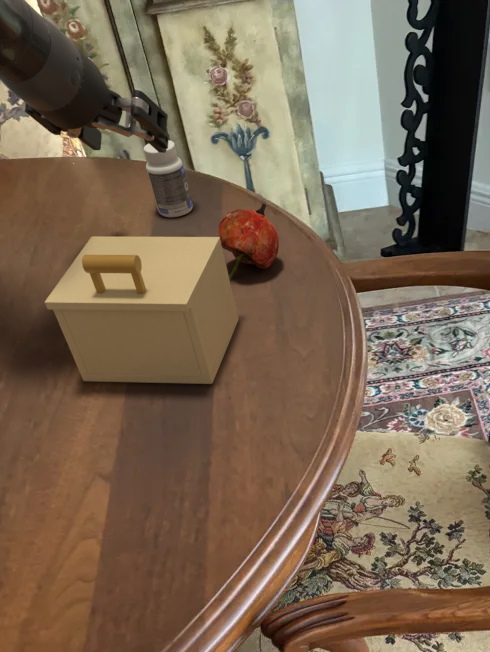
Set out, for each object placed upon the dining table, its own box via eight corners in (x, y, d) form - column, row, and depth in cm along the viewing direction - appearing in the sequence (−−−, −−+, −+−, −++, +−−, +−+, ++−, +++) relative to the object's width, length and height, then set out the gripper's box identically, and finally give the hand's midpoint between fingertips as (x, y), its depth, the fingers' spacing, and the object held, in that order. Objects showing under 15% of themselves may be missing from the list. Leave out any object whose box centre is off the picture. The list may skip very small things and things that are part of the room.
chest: (212, 384, 80) (190, 307, 73) (83, 381, 81) (50, 305, 75) (238, 319, 88) (221, 244, 81) (120, 317, 89) (94, 243, 82)
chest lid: (188, 311, 73) (176, 267, 70) (47, 309, 74) (28, 266, 71) (221, 244, 81) (211, 202, 78) (94, 243, 82) (79, 202, 79)
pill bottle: (199, 211, 106) (183, 146, 100) (166, 221, 104) (148, 156, 98) (185, 198, 109) (168, 135, 102) (153, 208, 107) (134, 144, 101)
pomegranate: (263, 303, 94) (307, 230, 93) (218, 271, 88) (263, 193, 87) (232, 286, 98) (273, 216, 97) (187, 254, 93) (230, 179, 92)
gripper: (115, 32, 76) (189, 112, 92) (-15, 30, 79) (79, 109, 95) (109, 111, 77) (183, 178, 93) (-20, 107, 79) (74, 173, 95)
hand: (130, 143), depth 94 cm, fingers open, 8 cm apart
